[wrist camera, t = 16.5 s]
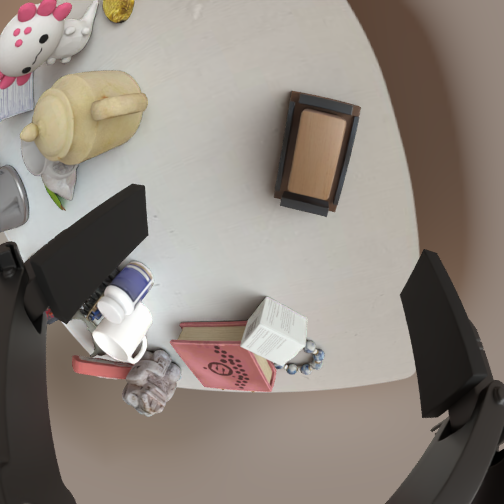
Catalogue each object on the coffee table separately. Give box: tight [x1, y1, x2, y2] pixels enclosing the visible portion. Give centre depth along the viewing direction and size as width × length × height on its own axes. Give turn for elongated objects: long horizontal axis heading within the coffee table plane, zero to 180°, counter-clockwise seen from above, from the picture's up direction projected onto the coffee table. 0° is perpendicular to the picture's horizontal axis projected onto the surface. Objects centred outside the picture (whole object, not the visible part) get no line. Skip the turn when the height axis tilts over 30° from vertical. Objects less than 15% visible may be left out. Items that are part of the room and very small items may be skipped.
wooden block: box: [288, 108, 346, 200], centre depth 24 cm, size 4×4×8 cm
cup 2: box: [92, 302, 152, 364], centre depth 47 cm, size 8×12×10 cm
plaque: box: [72, 355, 134, 379], centre depth 58 cm, size 18×4×15 cm
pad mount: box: [274, 91, 361, 217], centre depth 26 cm, size 12×7×3 cm, turn 173°
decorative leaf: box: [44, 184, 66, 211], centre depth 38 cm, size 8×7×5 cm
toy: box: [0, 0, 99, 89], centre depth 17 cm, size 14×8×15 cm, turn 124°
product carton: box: [240, 296, 307, 366], centre depth 38 cm, size 6×6×7 cm
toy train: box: [80, 269, 120, 321], centre depth 49 cm, size 4×22×5 cm
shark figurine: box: [71, 310, 106, 357], centre depth 59 cm, size 14×17×8 cm
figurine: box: [122, 350, 181, 416], centre depth 52 cm, size 10×11×15 cm
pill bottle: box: [97, 262, 154, 324], centre depth 40 cm, size 6×6×10 cm
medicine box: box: [0, 71, 34, 121], centre depth 25 cm, size 8×4×9 cm, turn 176°
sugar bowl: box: [20, 71, 148, 165], centre depth 22 cm, size 15×11×15 cm
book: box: [170, 321, 276, 392], centre depth 47 cm, size 14×15×5 cm
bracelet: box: [274, 341, 324, 375], centre depth 44 cm, size 10×10×2 cm
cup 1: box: [21, 140, 78, 180], centre depth 29 cm, size 8×10×8 cm
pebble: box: [41, 162, 76, 201], centre depth 34 cm, size 9×8×5 cm
